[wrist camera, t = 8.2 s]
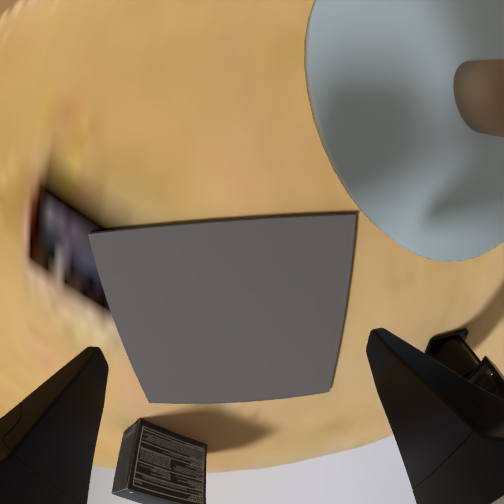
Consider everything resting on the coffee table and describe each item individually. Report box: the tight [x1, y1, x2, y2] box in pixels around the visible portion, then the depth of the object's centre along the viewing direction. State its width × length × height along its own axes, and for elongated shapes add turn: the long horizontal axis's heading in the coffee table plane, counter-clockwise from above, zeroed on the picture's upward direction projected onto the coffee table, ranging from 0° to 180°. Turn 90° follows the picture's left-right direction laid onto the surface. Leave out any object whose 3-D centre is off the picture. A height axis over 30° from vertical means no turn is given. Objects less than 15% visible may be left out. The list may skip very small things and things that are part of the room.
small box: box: [112, 419, 207, 504], centre depth 28 cm, size 11×6×10 cm, turn 50°
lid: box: [304, 0, 504, 262], centre depth 9 cm, size 19×19×5 cm
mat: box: [88, 213, 356, 404], centre depth 25 cm, size 20×20×1 cm
